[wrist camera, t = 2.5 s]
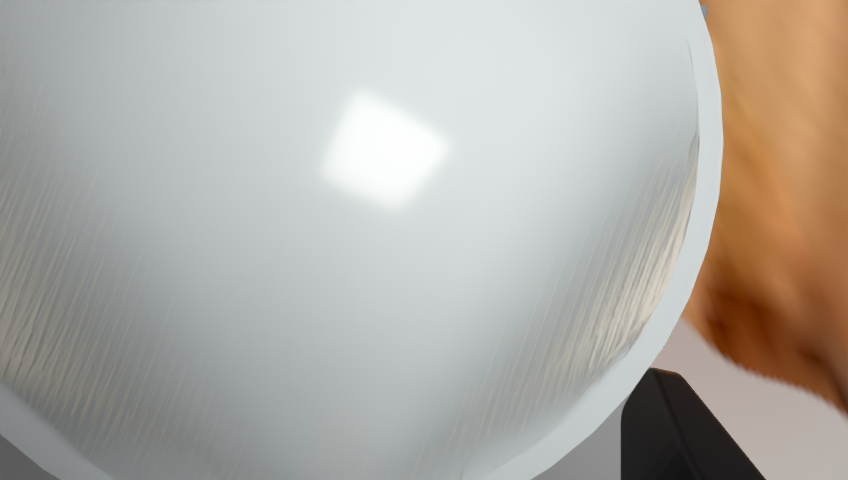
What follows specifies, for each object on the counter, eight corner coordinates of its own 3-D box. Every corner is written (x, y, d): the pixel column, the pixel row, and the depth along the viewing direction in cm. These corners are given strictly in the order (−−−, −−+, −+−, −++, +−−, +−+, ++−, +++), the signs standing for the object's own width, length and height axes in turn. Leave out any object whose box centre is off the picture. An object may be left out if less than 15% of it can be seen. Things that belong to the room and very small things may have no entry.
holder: (543, 914, 17) (597, 1109, 13) (-103, 797, 16) (-271, 962, 12) (688, 25, 20) (769, -54, 16) (158, -99, 19) (97, -215, 15)
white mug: (461, 415, 17) (652, 627, 5) (195, 360, 17) (-259, 447, 5) (525, 90, 18) (802, -356, 6) (278, 33, 18) (79, -543, 6)
